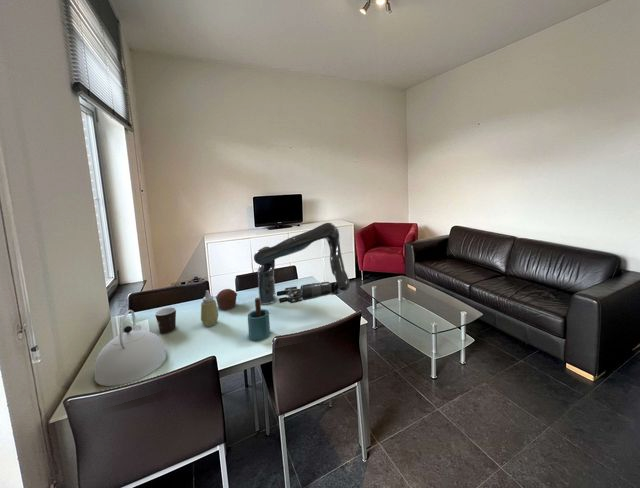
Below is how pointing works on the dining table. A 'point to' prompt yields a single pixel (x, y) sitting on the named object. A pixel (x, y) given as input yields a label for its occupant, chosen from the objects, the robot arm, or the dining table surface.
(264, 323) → the jar
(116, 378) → the kettle
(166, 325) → the coffee mug
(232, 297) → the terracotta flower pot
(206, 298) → the squeeze bottle
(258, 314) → the dowel
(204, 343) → the dining table surface
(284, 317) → the dining table surface
